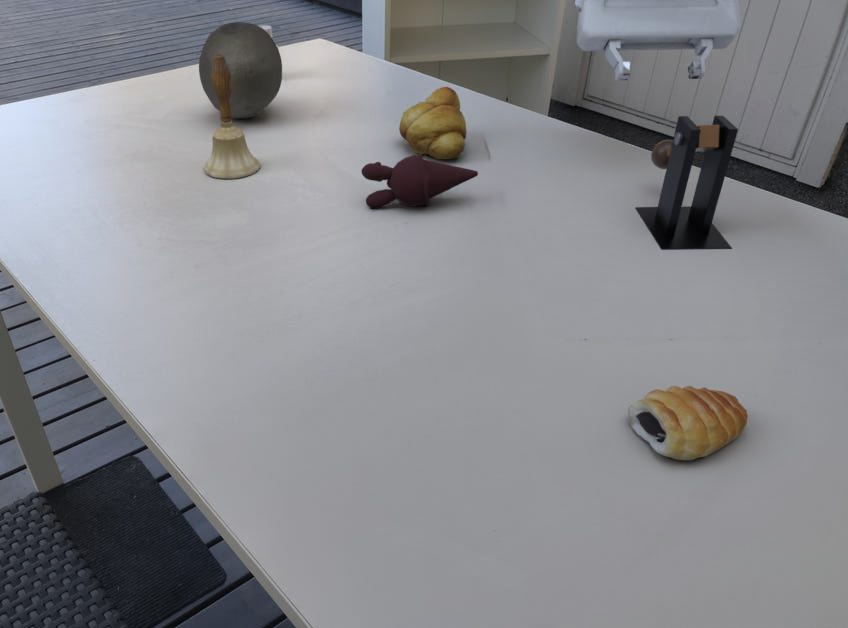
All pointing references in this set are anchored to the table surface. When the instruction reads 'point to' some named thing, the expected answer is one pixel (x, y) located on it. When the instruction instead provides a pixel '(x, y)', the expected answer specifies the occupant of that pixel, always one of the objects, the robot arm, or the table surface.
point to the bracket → (695, 222)
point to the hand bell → (228, 133)
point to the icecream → (413, 180)
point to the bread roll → (435, 125)
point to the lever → (705, 143)
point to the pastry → (687, 421)
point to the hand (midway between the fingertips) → (660, 77)
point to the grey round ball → (243, 67)
